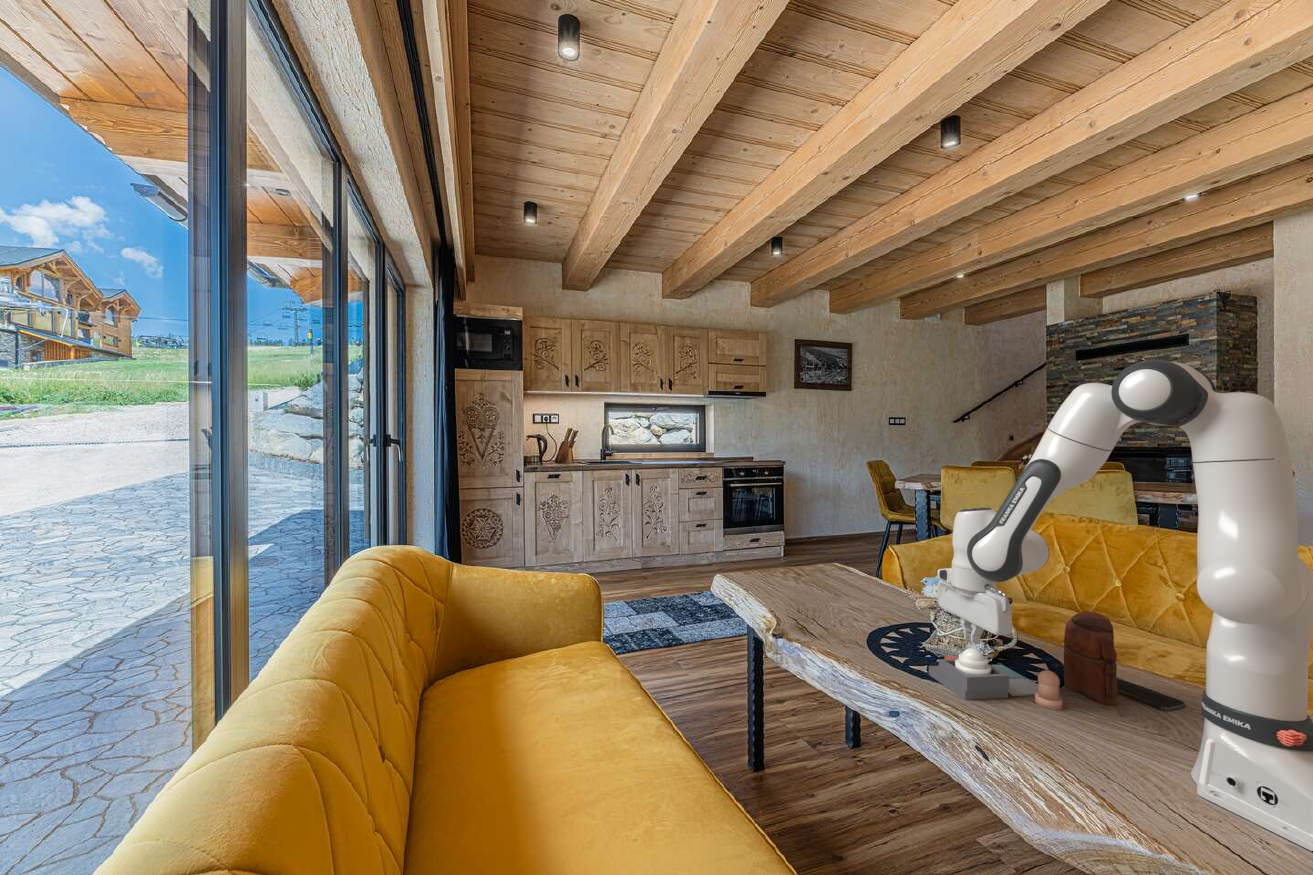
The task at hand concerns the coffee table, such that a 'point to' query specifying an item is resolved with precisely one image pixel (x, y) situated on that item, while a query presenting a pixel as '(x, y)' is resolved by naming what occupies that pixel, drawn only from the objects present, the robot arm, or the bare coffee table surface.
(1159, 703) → the phone
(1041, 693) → the pawn
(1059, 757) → the coffee table surface
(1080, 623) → the brown leather bag
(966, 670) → the dome
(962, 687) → the dome base
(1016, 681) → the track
